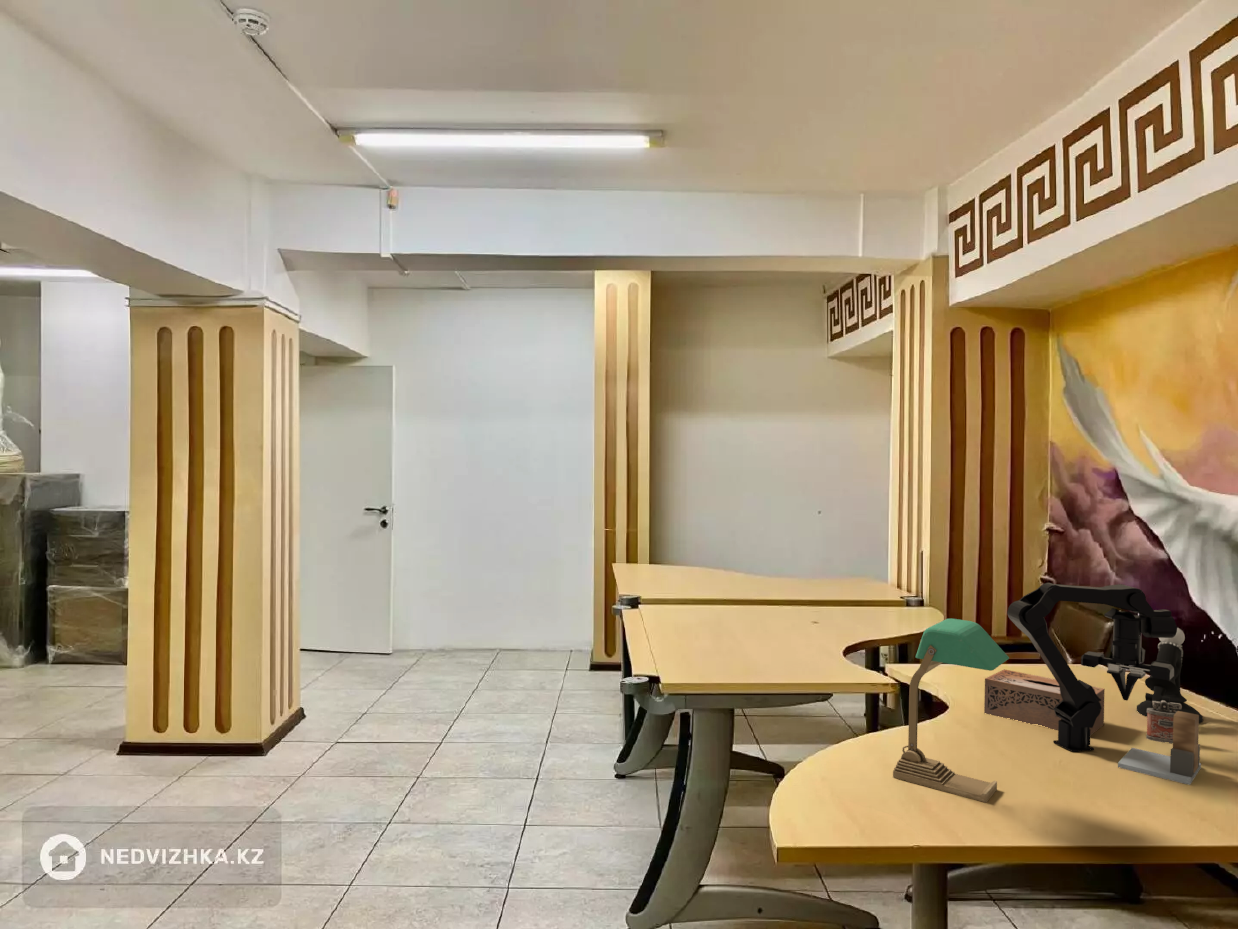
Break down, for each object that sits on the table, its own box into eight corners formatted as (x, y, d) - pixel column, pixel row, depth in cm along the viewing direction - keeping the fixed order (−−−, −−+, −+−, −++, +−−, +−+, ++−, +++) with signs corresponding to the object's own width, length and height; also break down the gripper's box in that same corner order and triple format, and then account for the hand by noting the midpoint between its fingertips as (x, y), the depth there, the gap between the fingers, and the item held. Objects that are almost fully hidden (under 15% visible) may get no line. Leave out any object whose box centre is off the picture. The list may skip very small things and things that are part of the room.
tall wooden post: (1172, 768, 179) (1173, 715, 179) (1176, 762, 183) (1177, 710, 183) (1193, 773, 177) (1195, 720, 176) (1197, 767, 180) (1198, 715, 180)
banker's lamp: (911, 761, 185) (914, 612, 184) (1008, 786, 171) (1011, 625, 171) (886, 782, 172) (889, 622, 172) (988, 810, 159) (992, 637, 159)
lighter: (1146, 740, 202) (1147, 700, 201) (1145, 735, 205) (1146, 697, 204) (1185, 745, 198) (1186, 705, 198) (1183, 741, 201) (1184, 702, 201)
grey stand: (1117, 767, 183) (1118, 741, 183) (1131, 751, 193) (1132, 727, 193) (1189, 785, 173) (1190, 757, 173) (1200, 767, 183) (1201, 742, 183)
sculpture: (1207, 716, 221) (1209, 627, 221) (1190, 736, 205) (1192, 640, 205) (1143, 703, 232) (1145, 618, 232) (1122, 721, 216) (1124, 630, 215)
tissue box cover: (984, 714, 221) (984, 678, 221) (1003, 703, 231) (1004, 669, 231) (1087, 738, 203) (1088, 699, 203) (1103, 725, 213) (1104, 688, 213)
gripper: (1179, 638, 194) (1177, 701, 194) (1092, 626, 207) (1091, 685, 207) (1169, 645, 186) (1168, 711, 186) (1080, 632, 199) (1079, 694, 199)
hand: (1125, 700), depth 195 cm, fingers closed
